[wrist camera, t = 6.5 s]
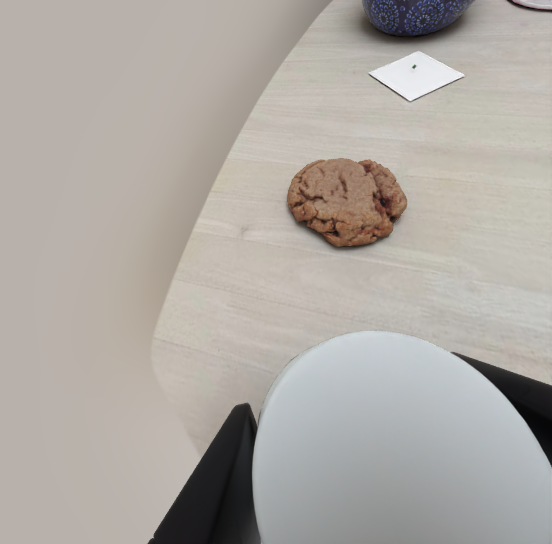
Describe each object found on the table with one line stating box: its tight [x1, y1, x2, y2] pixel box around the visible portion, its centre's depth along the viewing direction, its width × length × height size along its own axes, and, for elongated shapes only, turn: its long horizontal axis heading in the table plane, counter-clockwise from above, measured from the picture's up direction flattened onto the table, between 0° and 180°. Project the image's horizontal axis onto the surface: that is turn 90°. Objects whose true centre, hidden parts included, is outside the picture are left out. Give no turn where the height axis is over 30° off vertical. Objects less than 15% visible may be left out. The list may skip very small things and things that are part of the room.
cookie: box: [287, 158, 407, 247], centre depth 24 cm, size 10×11×3 cm
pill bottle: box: [252, 330, 552, 544], centre depth 8 cm, size 6×6×10 cm
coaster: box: [369, 51, 465, 101], centre depth 32 cm, size 8×8×1 cm
